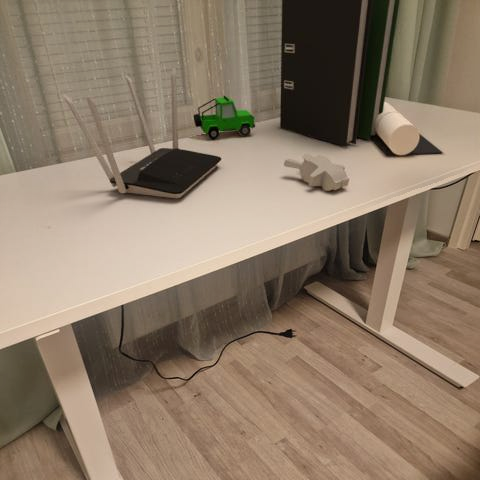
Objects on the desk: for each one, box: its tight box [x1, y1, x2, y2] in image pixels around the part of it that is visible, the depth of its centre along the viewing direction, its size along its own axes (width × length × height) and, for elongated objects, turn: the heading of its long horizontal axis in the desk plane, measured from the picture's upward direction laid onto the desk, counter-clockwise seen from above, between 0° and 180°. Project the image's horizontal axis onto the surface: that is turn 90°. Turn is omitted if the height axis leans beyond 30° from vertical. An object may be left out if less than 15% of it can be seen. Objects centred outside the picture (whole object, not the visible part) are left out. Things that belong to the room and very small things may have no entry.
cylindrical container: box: [375, 101, 421, 156], centre depth 113 cm, size 7×7×25 cm
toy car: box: [193, 95, 256, 141], centre depth 123 cm, size 8×17×10 cm, turn 104°
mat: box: [370, 133, 443, 157], centre depth 115 cm, size 14×22×1 cm, turn 1°
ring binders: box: [279, 0, 400, 147], centre depth 114 cm, size 27×15×32 cm, turn 34°
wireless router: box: [62, 67, 222, 199], centre depth 93 cm, size 34×23×20 cm
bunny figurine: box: [283, 153, 350, 192], centre depth 93 cm, size 10×5×15 cm
